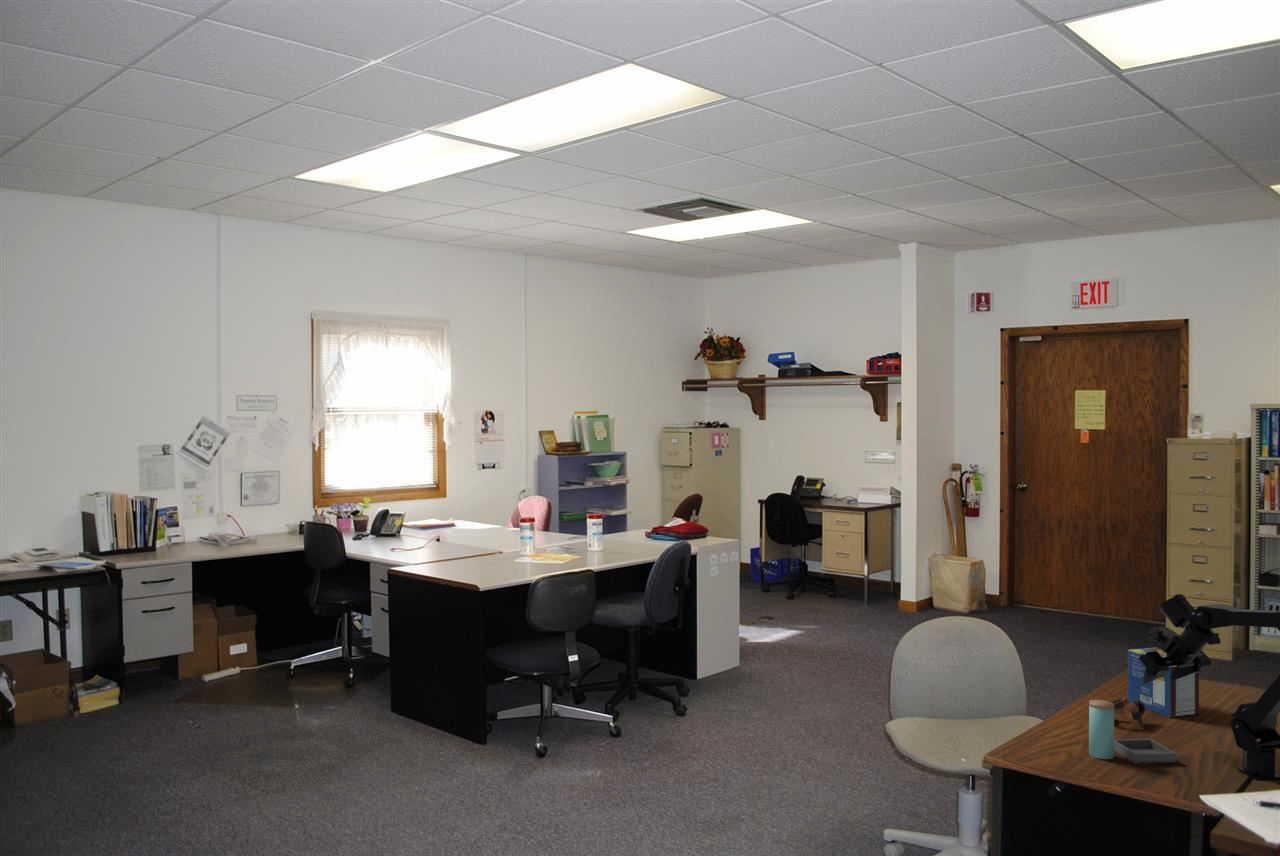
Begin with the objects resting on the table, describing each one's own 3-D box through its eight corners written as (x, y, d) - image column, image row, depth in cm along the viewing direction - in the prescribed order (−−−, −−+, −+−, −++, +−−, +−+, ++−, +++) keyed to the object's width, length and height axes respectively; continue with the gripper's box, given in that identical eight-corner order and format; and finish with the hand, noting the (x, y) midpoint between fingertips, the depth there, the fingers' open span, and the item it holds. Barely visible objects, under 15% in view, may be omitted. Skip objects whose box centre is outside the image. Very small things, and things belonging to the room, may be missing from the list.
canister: (1118, 759, 233) (1118, 706, 233) (1096, 760, 233) (1096, 706, 232) (1106, 751, 238) (1106, 699, 238) (1084, 752, 238) (1084, 700, 238)
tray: (1176, 763, 230) (1176, 753, 230) (1135, 764, 230) (1135, 754, 230) (1150, 748, 241) (1151, 738, 240) (1111, 749, 240) (1111, 739, 240)
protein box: (1154, 699, 283) (1155, 646, 283) (1199, 715, 268) (1200, 659, 268) (1126, 702, 280) (1126, 649, 279) (1170, 718, 265) (1170, 662, 265)
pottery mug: (1131, 735, 253) (1114, 705, 255) (1106, 740, 261) (1090, 711, 263) (1161, 717, 257) (1144, 688, 260) (1136, 723, 266) (1120, 695, 268)
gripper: (1196, 614, 249) (1164, 653, 258) (1141, 619, 243) (1110, 658, 252) (1227, 648, 241) (1192, 687, 250) (1171, 655, 235) (1137, 694, 244)
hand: (1157, 680), depth 249 cm, fingers open, 9 cm apart
